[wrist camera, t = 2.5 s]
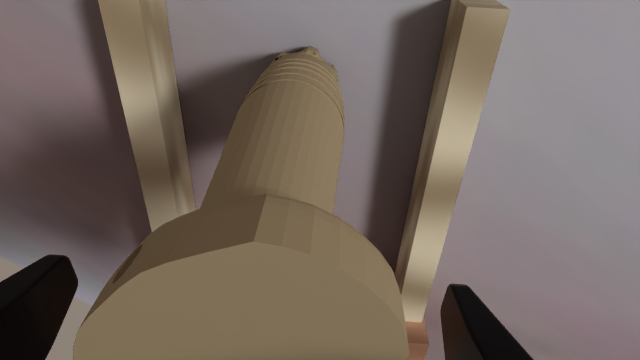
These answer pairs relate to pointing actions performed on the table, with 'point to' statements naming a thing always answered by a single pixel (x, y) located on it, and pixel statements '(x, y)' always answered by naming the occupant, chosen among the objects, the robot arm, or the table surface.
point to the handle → (259, 249)
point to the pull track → (435, 154)
